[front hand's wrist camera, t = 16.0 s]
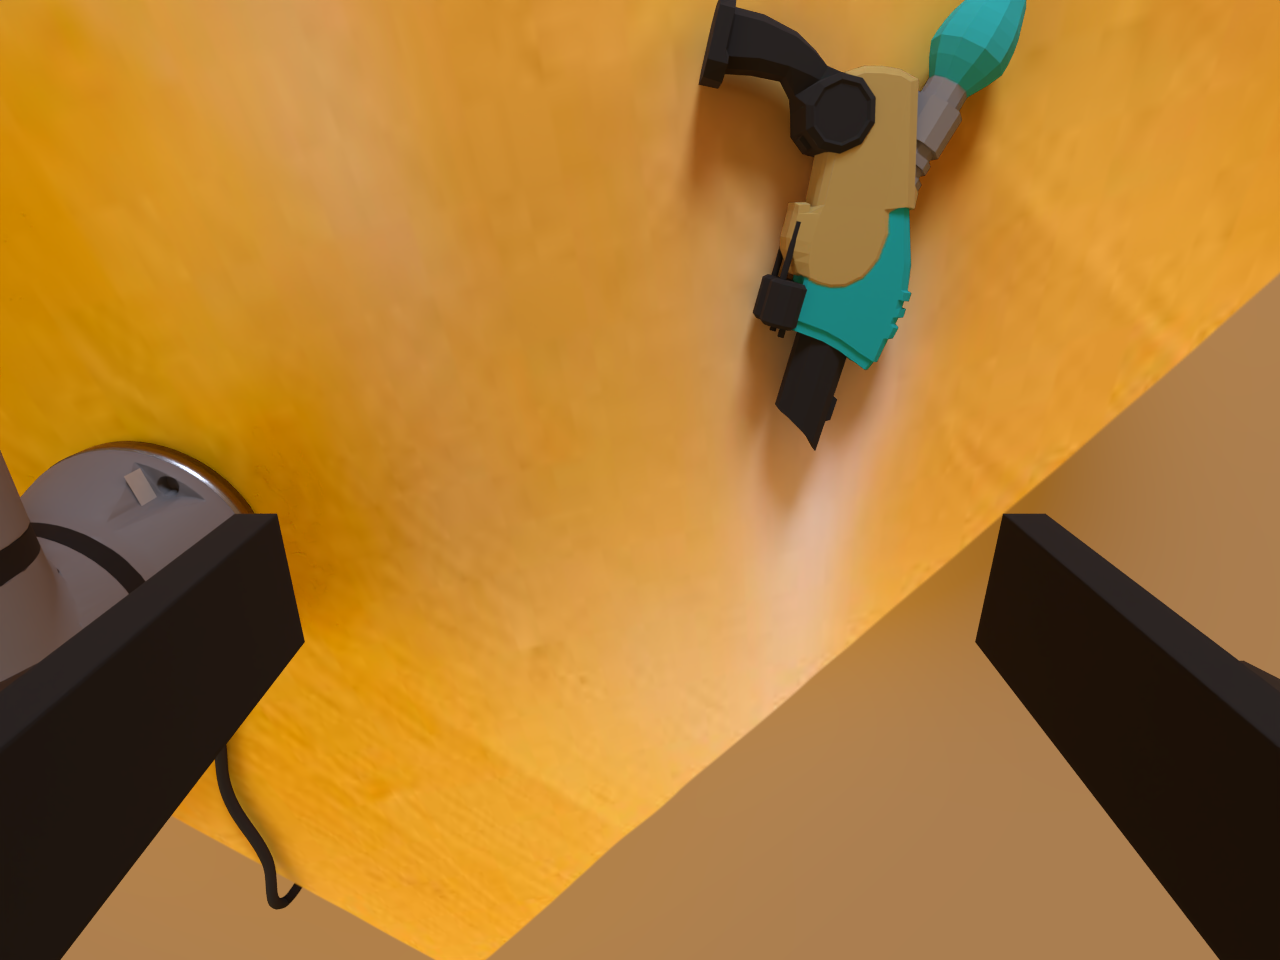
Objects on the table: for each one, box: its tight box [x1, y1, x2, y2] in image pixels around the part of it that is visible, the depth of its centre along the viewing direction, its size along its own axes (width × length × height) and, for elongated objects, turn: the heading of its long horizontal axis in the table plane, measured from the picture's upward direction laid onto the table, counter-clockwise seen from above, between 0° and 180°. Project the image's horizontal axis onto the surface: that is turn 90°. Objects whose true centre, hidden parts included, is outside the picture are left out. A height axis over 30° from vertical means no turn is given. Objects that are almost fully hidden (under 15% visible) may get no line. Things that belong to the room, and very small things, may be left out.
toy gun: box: [699, 0, 1026, 450], centre depth 37 cm, size 4×26×15 cm
